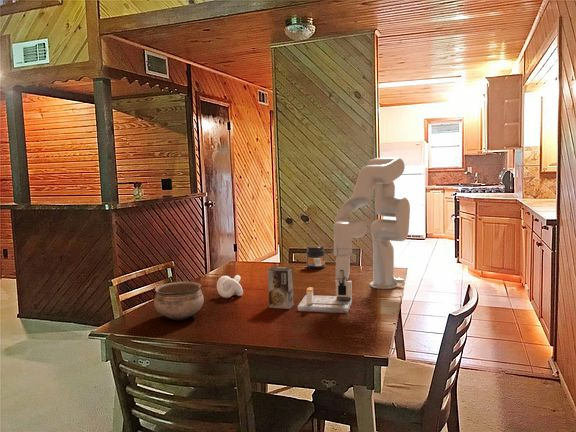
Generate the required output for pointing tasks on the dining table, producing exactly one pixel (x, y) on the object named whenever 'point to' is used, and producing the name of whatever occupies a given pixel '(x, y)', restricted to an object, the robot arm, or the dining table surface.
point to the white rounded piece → (229, 286)
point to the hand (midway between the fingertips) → (343, 291)
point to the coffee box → (280, 287)
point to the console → (325, 304)
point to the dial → (348, 291)
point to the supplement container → (315, 257)
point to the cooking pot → (178, 299)
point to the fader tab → (310, 295)
